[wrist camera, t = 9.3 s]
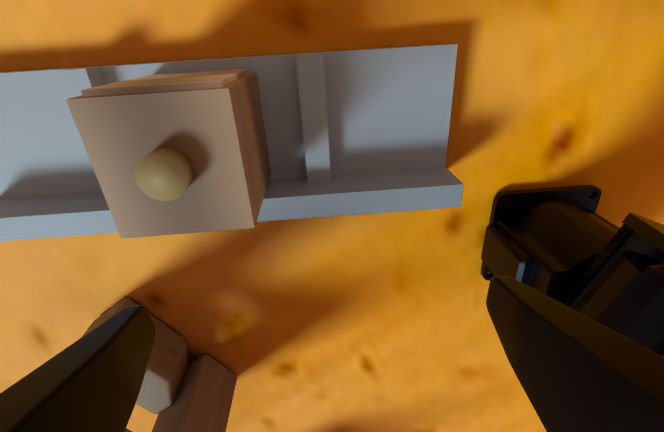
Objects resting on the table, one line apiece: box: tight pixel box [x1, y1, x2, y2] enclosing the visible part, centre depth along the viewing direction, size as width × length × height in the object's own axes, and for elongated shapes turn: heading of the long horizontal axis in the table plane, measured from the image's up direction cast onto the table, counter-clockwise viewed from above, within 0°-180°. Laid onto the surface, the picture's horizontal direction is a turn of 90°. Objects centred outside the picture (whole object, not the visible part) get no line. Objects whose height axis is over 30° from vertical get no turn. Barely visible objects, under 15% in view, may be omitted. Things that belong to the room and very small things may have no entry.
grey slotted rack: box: [0, 44, 464, 241], centre depth 17 cm, size 24×7×4 cm, turn 93°
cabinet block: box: [66, 69, 271, 238], centre depth 14 cm, size 5×5×7 cm
